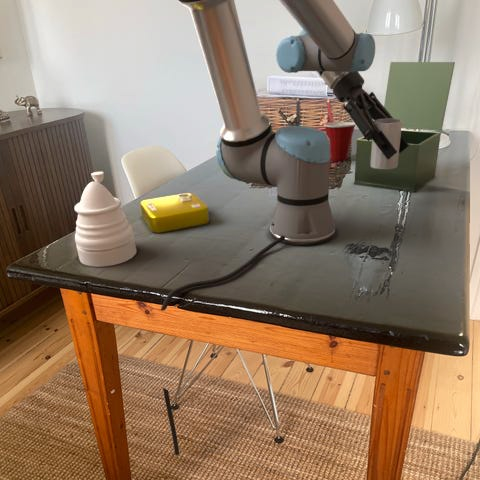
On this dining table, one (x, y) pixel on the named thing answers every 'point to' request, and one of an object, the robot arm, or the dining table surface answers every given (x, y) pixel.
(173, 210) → the yellow box
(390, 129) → the tumbler
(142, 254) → the dining table surface
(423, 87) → the lid
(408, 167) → the green open box
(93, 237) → the honey pot
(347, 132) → the plastic cup
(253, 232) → the dining table surface
